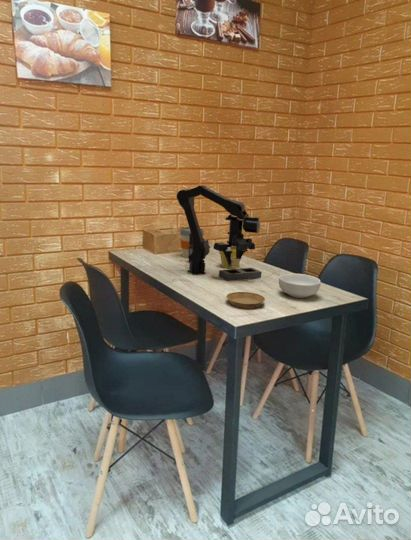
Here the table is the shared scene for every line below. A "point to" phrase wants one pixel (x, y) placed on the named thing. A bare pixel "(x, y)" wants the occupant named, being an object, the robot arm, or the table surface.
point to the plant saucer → (245, 299)
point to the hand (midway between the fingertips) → (233, 264)
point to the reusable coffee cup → (186, 240)
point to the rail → (239, 274)
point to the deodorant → (190, 246)
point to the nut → (234, 262)
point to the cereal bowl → (299, 285)
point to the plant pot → (223, 258)
